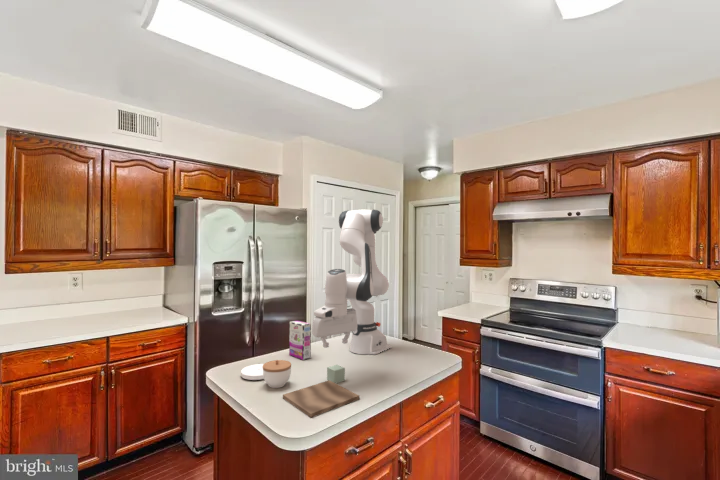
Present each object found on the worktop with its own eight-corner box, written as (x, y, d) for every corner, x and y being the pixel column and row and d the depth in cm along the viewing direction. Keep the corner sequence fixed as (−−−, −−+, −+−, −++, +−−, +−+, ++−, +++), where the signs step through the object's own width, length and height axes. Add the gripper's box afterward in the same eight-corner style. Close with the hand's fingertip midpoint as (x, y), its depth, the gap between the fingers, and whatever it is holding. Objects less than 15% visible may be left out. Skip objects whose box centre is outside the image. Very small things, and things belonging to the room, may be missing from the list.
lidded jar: (288, 377, 141) (289, 354, 141) (293, 388, 131) (293, 363, 131) (261, 381, 137) (261, 357, 137) (263, 392, 127) (263, 366, 127)
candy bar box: (311, 358, 165) (311, 323, 165) (303, 360, 161) (303, 325, 161) (297, 353, 173) (297, 319, 173) (288, 355, 169) (288, 321, 169)
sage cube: (337, 376, 142) (337, 364, 142) (344, 380, 138) (344, 367, 138) (327, 380, 139) (327, 367, 139) (334, 383, 135) (334, 370, 135)
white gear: (257, 385, 134) (257, 378, 134) (233, 377, 142) (233, 371, 142) (283, 373, 146) (283, 367, 146) (260, 367, 153) (260, 361, 153)
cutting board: (329, 383, 135) (329, 380, 135) (359, 399, 122) (359, 395, 122) (282, 398, 122) (282, 394, 122) (310, 417, 108) (310, 413, 108)
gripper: (351, 306, 148) (350, 339, 147) (310, 311, 135) (309, 347, 134) (360, 308, 143) (360, 342, 143) (319, 314, 130) (319, 351, 129)
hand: (335, 345), depth 138 cm, fingers open, 8 cm apart
